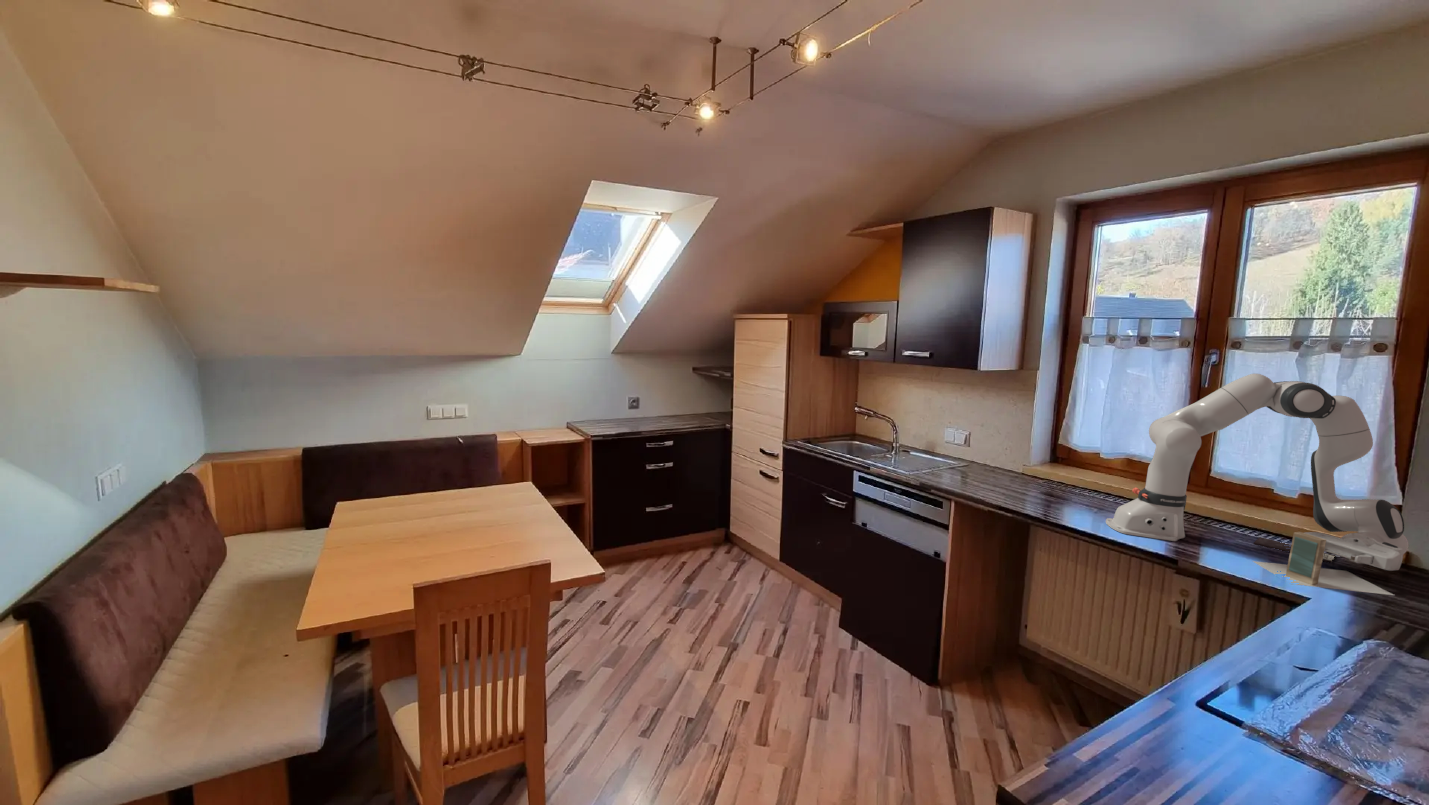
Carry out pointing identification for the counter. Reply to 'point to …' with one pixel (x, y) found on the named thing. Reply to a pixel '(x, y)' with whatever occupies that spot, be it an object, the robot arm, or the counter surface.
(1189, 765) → the counter surface
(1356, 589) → the mat
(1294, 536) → the birch box
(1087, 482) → the counter surface
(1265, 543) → the chocolate bar
